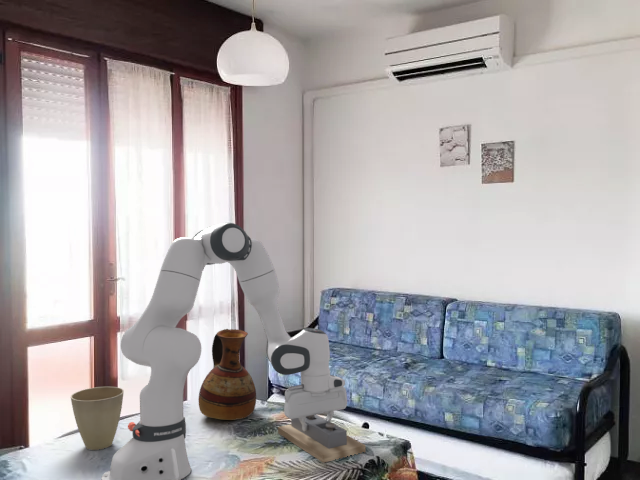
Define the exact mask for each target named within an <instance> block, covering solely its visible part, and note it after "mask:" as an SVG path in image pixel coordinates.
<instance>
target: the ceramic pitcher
mask: <svg viewBox="0 0 640 480" xmlns="http://www.w3.org/2000/svg"><path fill="white" fill-rule="evenodd" d="M248 335H249V334H248V332H247V331H244V330H241V329H236V328H234V329H233V328H231V329H228V328H226V329H225V328H224V329H220V330H219V331H217V332H216V334H214V337H213V340H212V346H211V355H212V356H211V357H212V363H213V367H212V369H211V370H210V371H209V372H208V374H206V376H205V378H204V379H203V381H202V383H201V386H200V389H199V392H198V393H199V394H198V408H199V411H200V413H201V414H202V415H203V416H205V417H207V418H210V419H216V420H220V421H223V420H224V421H225V420H226V421H235V420H243V419H245V418H247V417H249V416H250V415H252V414H253V413H254V411H255V409H256V404H257V391H256V386H255V383H254V380H253V378H252V376H251V374H250V373H249V371H248V370H247V369H246V368H245V367H244V366H243V365H241V361H240V353H241V347H242V344H243V342H244V340H245V338H247V336H248Z"/></svg>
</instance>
